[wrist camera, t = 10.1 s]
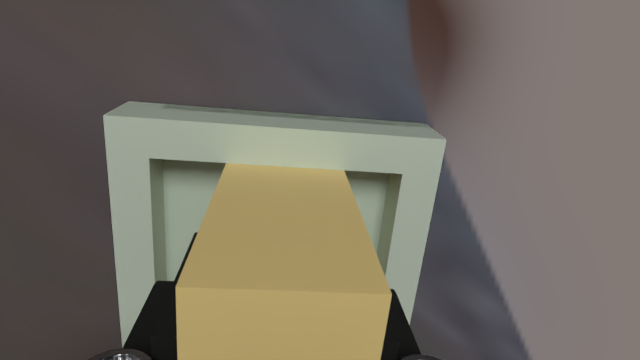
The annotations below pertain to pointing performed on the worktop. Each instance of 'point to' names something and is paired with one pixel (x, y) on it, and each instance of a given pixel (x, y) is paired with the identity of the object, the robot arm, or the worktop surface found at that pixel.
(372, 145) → the tray
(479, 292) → the worktop surface
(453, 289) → the worktop surface
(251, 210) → the tan wooden brick
